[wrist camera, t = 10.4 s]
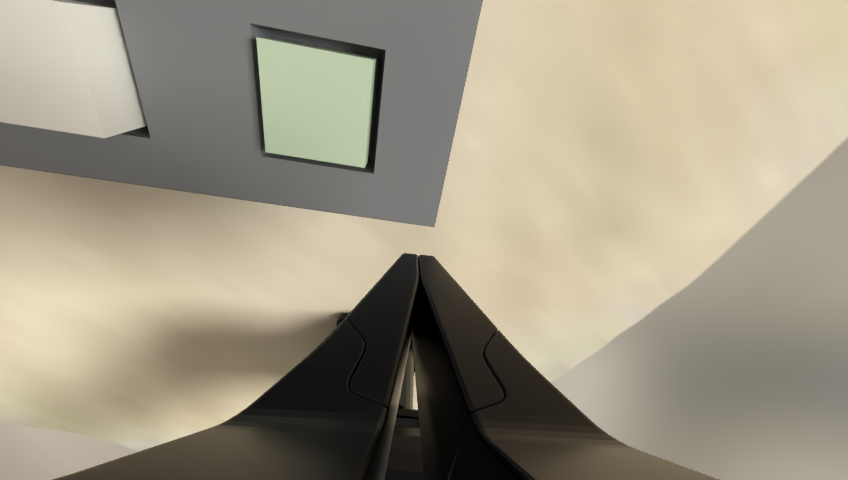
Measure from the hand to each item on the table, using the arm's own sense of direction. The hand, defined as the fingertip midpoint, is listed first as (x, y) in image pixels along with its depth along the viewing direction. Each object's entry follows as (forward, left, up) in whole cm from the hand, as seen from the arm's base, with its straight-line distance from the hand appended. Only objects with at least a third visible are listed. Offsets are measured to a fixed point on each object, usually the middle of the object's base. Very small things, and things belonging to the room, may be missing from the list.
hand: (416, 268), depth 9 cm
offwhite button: (+2, +15, -8) cm, 17 cm away
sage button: (+2, +5, -10) cm, 11 cm away
